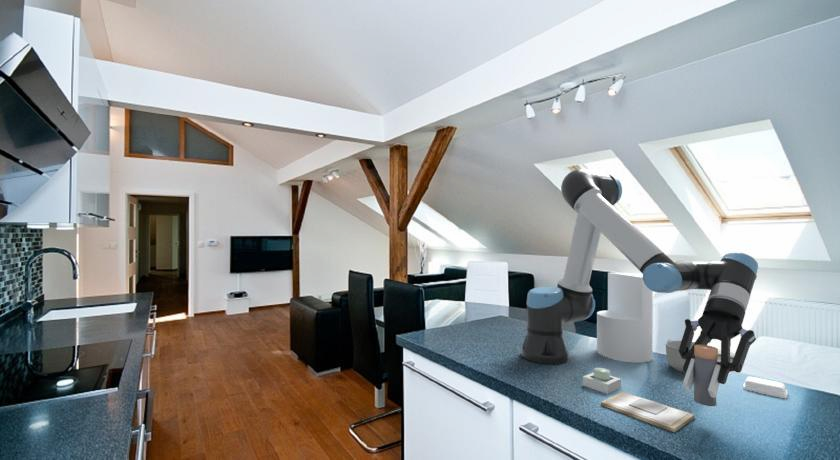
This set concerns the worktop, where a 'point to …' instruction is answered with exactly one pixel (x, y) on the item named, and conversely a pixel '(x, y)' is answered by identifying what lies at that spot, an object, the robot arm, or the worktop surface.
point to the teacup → (675, 354)
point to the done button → (602, 374)
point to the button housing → (602, 383)
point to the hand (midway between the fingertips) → (698, 390)
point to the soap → (765, 387)
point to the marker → (704, 373)
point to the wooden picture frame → (648, 411)
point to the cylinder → (626, 320)
